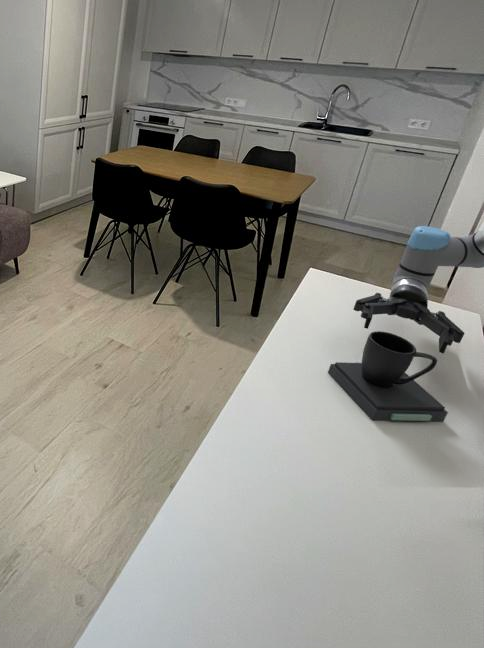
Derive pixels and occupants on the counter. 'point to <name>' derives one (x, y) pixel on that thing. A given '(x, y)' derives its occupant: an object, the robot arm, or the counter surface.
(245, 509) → the counter surface
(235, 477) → the counter surface
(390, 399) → the scale
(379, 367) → the mug
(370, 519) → the counter surface
